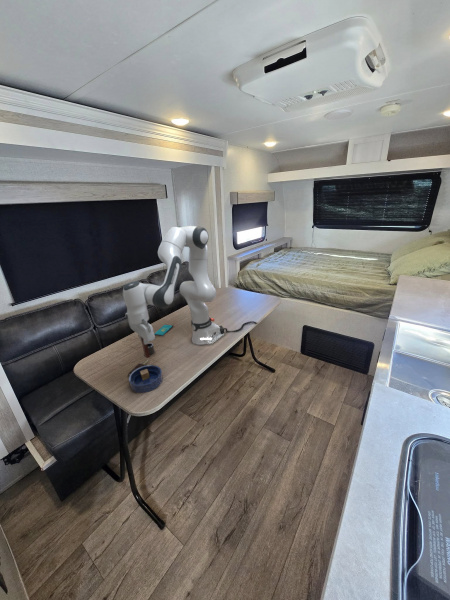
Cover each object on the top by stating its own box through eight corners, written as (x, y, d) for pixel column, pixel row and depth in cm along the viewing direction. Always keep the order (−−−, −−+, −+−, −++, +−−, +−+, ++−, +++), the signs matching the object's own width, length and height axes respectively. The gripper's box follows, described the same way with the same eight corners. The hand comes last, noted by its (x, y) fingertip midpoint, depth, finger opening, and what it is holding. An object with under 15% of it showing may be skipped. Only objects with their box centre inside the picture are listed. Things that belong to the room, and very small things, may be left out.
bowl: (154, 368, 131) (152, 361, 129) (168, 382, 120) (167, 374, 118) (126, 383, 122) (123, 375, 120) (138, 399, 111) (136, 390, 109)
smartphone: (173, 325, 177) (162, 335, 163) (173, 326, 177) (162, 336, 164) (164, 324, 179) (153, 334, 165) (164, 325, 179) (153, 335, 166)
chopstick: (148, 355, 120) (142, 329, 114) (150, 356, 119) (144, 330, 113) (145, 356, 119) (138, 330, 113) (146, 358, 118) (140, 331, 112)
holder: (152, 350, 148) (150, 342, 146) (156, 353, 145) (154, 345, 143) (144, 353, 145) (142, 345, 143) (148, 357, 142) (146, 348, 140)
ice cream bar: (144, 360, 139) (127, 377, 126) (144, 358, 138) (126, 374, 125) (152, 361, 137) (135, 379, 124) (151, 359, 137) (135, 376, 124)
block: (148, 374, 126) (146, 368, 125) (149, 377, 123) (148, 372, 122) (141, 376, 125) (140, 371, 123) (142, 380, 122) (141, 374, 120)
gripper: (155, 321, 105) (160, 347, 111) (136, 308, 120) (141, 333, 125) (142, 326, 102) (148, 353, 107) (123, 313, 116) (129, 337, 121)
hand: (144, 342), depth 116 cm, fingers closed on chopstick, 2 cm apart
